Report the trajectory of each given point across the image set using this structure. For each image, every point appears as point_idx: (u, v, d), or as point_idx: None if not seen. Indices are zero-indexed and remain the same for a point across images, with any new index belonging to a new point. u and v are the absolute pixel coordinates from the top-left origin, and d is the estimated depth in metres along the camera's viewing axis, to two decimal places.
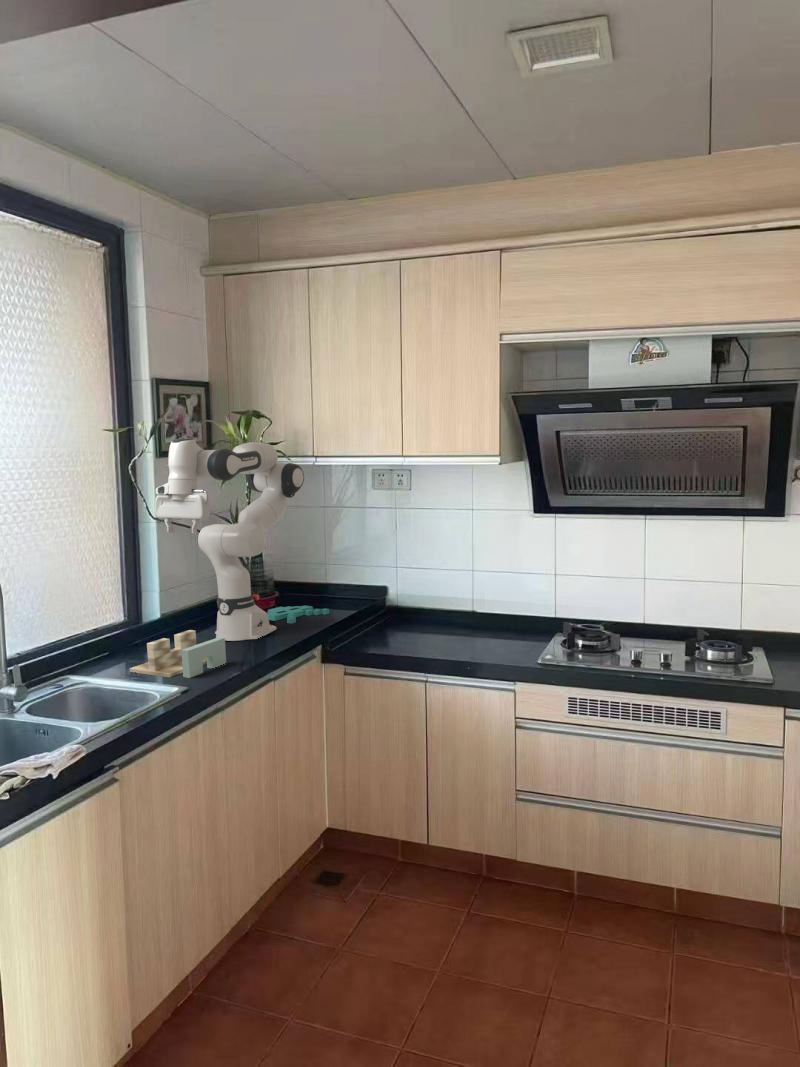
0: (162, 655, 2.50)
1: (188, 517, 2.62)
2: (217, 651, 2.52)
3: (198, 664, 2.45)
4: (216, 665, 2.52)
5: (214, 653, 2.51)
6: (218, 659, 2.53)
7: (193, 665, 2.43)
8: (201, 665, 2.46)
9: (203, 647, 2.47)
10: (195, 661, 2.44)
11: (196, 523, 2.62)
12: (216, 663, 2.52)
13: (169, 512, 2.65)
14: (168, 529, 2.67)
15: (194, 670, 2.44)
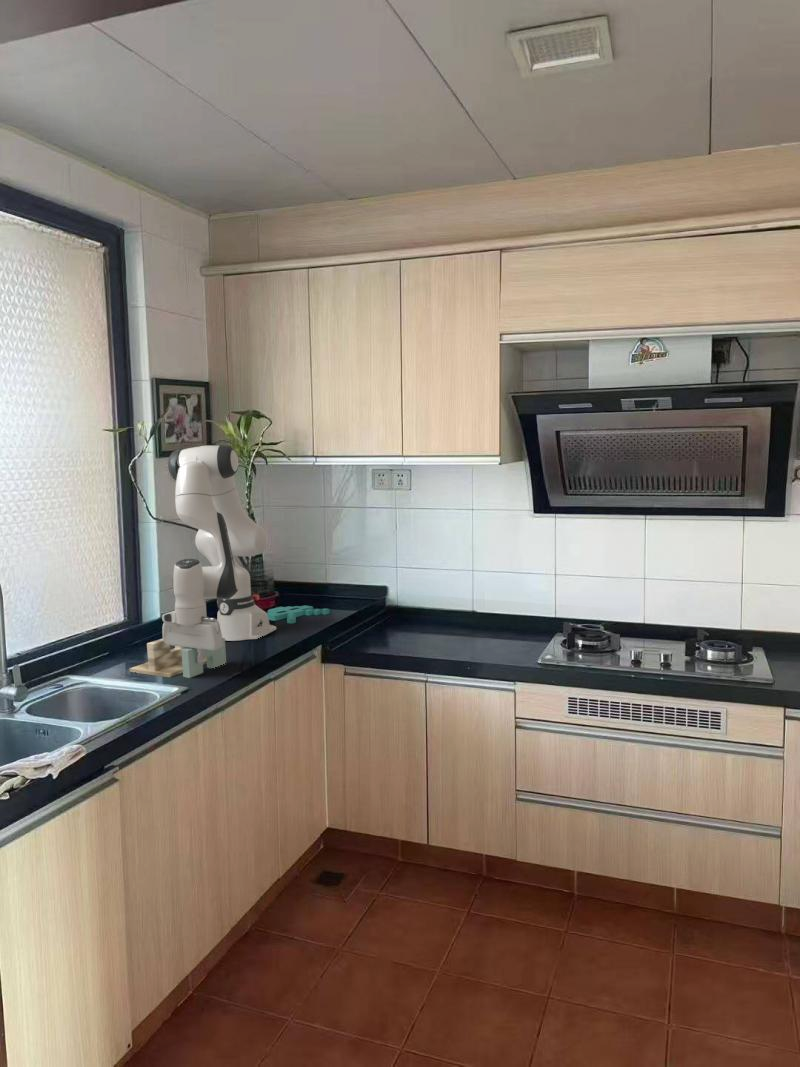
0: (162, 655, 2.50)
1: (200, 648, 2.41)
2: (217, 651, 2.52)
3: (198, 663, 2.45)
4: (216, 665, 2.52)
5: (214, 653, 2.51)
6: (218, 659, 2.53)
7: (193, 665, 2.43)
8: (201, 665, 2.46)
9: None
10: None
11: (201, 652, 2.43)
12: (216, 663, 2.52)
13: (179, 640, 2.45)
14: None
15: (194, 670, 2.44)
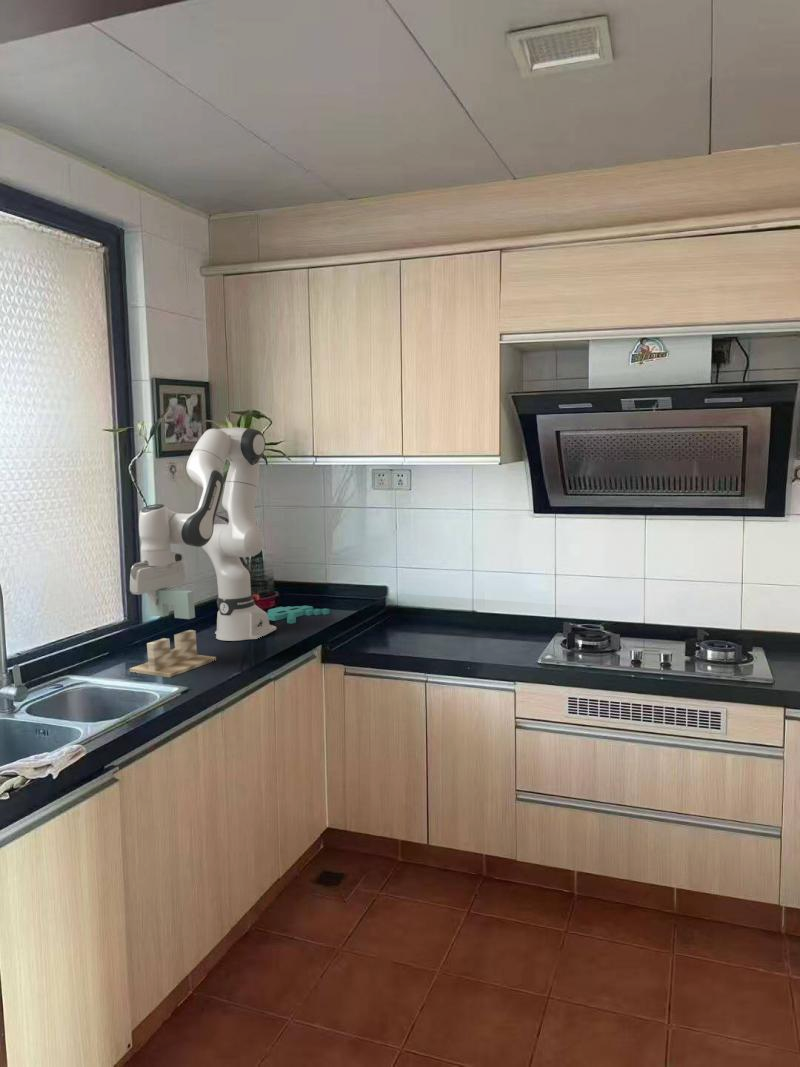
0: (162, 655, 2.50)
1: None
2: (178, 602, 2.50)
3: (158, 606, 2.54)
4: (177, 616, 2.51)
5: (175, 603, 2.51)
6: (180, 611, 2.50)
7: (152, 605, 2.55)
8: (161, 609, 2.54)
9: (163, 593, 2.52)
10: None
11: (149, 595, 2.52)
12: (177, 613, 2.51)
13: None
14: None
15: (153, 610, 2.55)
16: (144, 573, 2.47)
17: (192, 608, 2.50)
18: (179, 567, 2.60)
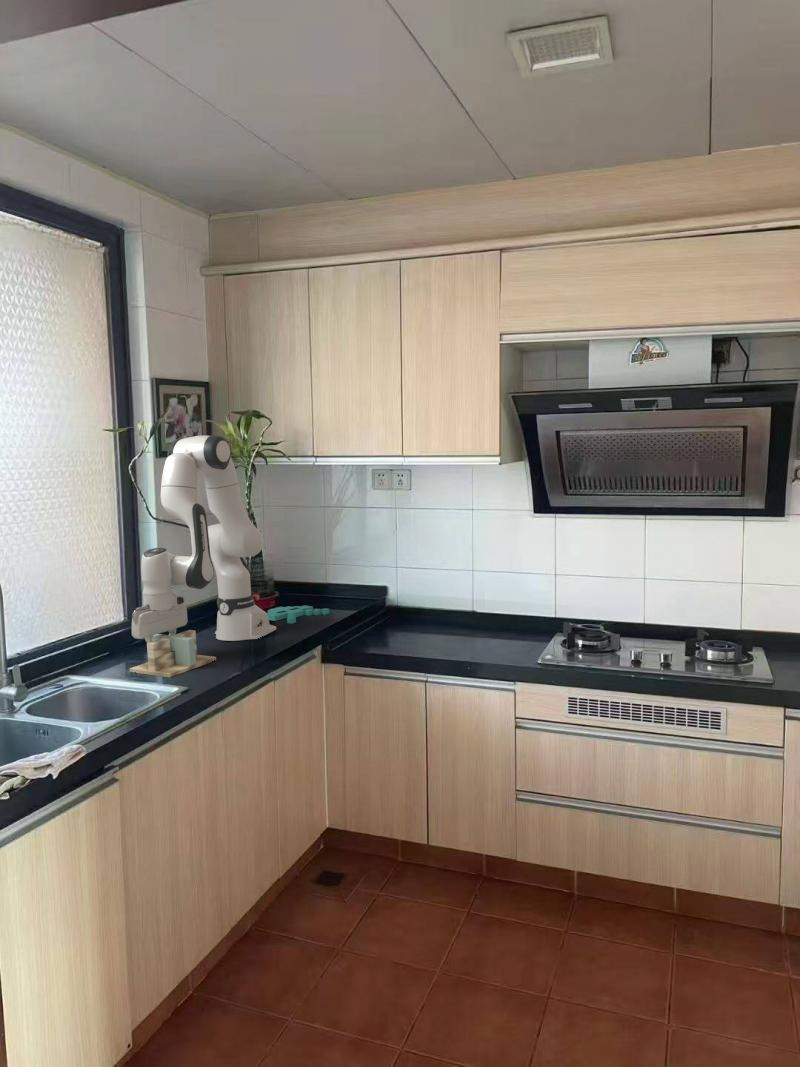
0: (162, 655, 2.50)
1: None
2: (180, 649, 2.52)
3: None
4: (179, 662, 2.53)
5: (176, 650, 2.53)
6: (181, 657, 2.52)
7: None
8: None
9: None
10: None
11: (146, 640, 2.52)
12: (178, 660, 2.53)
13: None
14: None
15: None
16: (146, 617, 2.49)
17: (193, 655, 2.52)
18: (181, 609, 2.62)
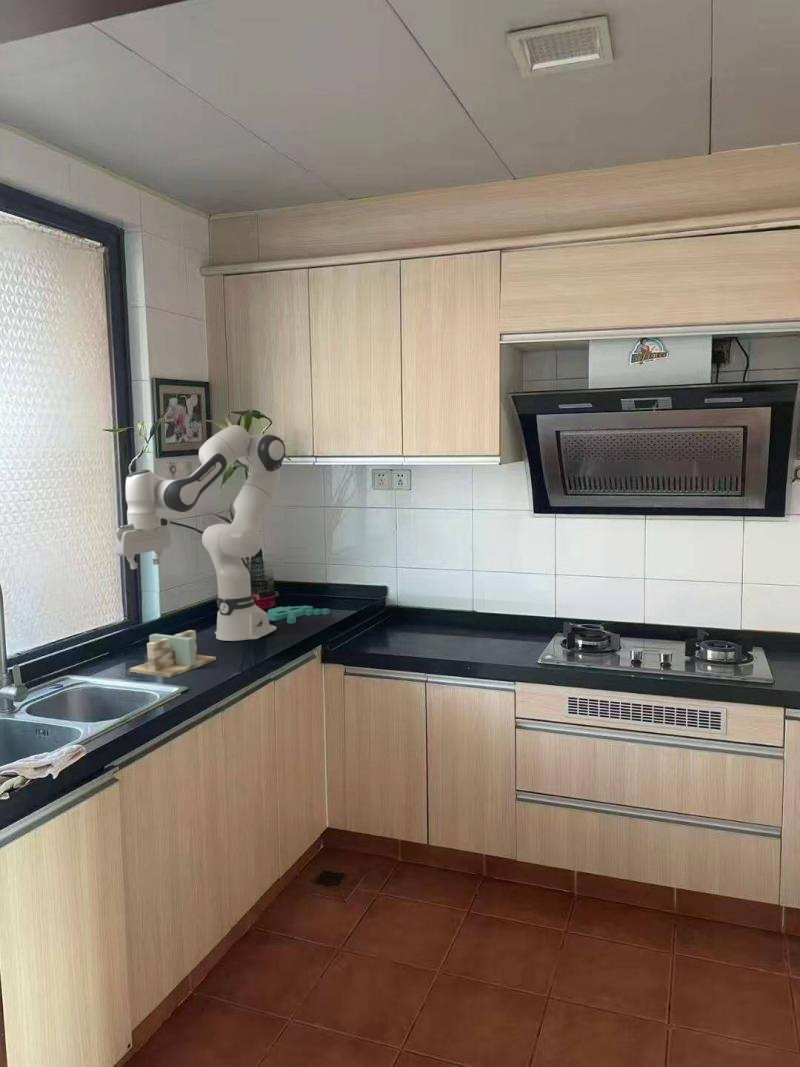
0: (162, 655, 2.50)
1: None
2: (180, 649, 2.52)
3: None
4: (179, 662, 2.53)
5: (176, 650, 2.53)
6: (181, 657, 2.52)
7: None
8: None
9: None
10: None
11: (128, 559, 2.58)
12: (178, 660, 2.53)
13: None
14: None
15: None
16: (130, 535, 2.55)
17: (193, 655, 2.52)
18: (165, 532, 2.68)
